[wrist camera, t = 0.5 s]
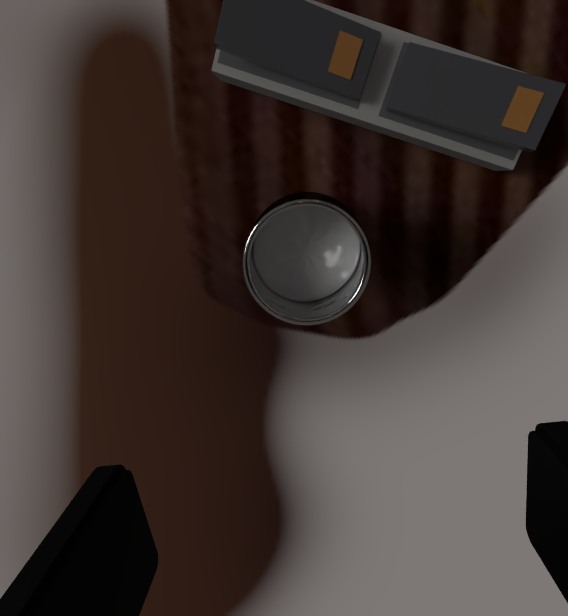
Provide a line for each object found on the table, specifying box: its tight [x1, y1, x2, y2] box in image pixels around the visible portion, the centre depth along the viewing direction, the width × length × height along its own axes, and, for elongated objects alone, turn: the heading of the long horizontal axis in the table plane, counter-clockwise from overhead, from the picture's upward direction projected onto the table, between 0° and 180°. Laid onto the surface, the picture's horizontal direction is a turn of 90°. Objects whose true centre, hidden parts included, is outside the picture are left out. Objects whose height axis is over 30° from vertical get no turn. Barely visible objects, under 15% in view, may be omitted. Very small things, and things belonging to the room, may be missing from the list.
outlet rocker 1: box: [214, 0, 381, 100], centre depth 26 cm, size 4×10×1 cm, turn 73°
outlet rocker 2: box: [386, 42, 566, 152], centre depth 27 cm, size 4×10×1 cm, turn 73°
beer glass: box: [243, 192, 371, 325], centre depth 28 cm, size 7×7×15 cm
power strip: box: [212, 0, 524, 171], centre depth 30 cm, size 23×6×3 cm, turn 73°
